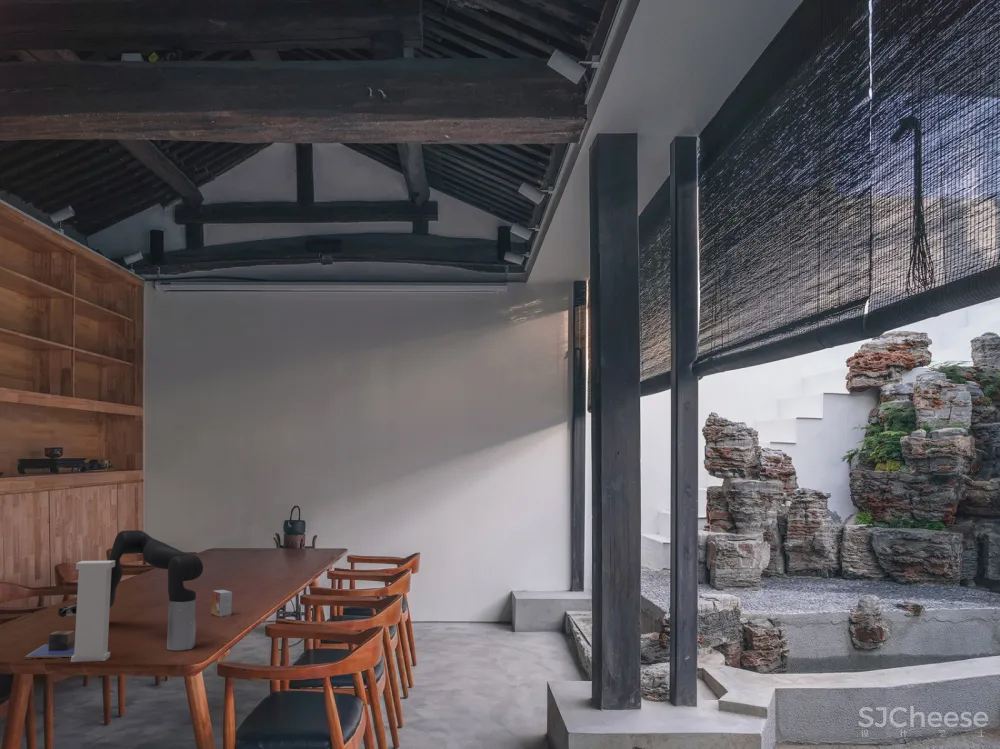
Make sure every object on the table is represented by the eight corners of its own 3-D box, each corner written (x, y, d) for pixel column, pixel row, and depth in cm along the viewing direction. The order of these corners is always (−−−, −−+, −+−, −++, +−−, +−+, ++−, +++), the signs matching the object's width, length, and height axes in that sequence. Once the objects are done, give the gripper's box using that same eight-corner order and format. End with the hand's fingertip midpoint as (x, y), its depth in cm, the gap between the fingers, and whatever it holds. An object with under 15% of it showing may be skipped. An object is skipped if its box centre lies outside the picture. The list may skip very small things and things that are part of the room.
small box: (210, 615, 364) (211, 590, 365) (222, 613, 368) (223, 589, 369) (219, 617, 358) (220, 592, 359) (231, 616, 362) (232, 591, 363)
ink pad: (90, 645, 305) (91, 642, 306) (74, 657, 288) (74, 654, 288) (44, 647, 303) (44, 644, 303) (24, 659, 285) (24, 656, 285)
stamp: (85, 640, 308) (86, 625, 309) (66, 650, 293) (67, 634, 294) (67, 640, 308) (68, 625, 308) (47, 650, 293) (48, 634, 293)
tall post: (110, 656, 291) (115, 560, 294) (105, 660, 284) (109, 562, 287) (77, 657, 289) (82, 560, 292) (70, 661, 282) (75, 563, 285)
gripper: (69, 596, 325) (54, 604, 309) (107, 595, 327) (94, 603, 312) (68, 616, 324) (53, 624, 308) (106, 615, 327) (93, 623, 311)
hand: (74, 614), depth 310 cm, fingers open, 8 cm apart
